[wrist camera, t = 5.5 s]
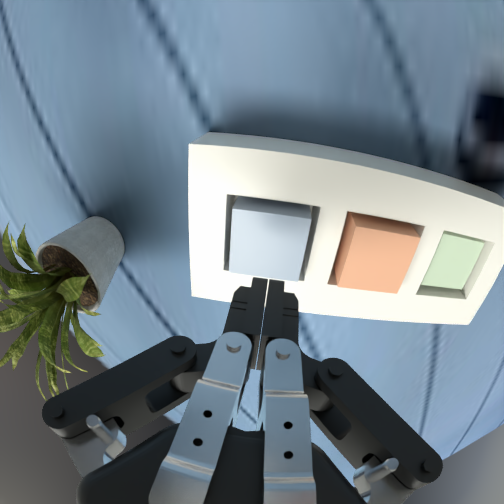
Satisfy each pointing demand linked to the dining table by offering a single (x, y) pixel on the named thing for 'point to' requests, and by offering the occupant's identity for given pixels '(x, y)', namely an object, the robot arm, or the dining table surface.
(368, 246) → the key terracotta
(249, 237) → the key slate
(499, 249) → the keypad frame
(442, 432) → the dining table surface
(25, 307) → the house plant
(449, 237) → the key sage
